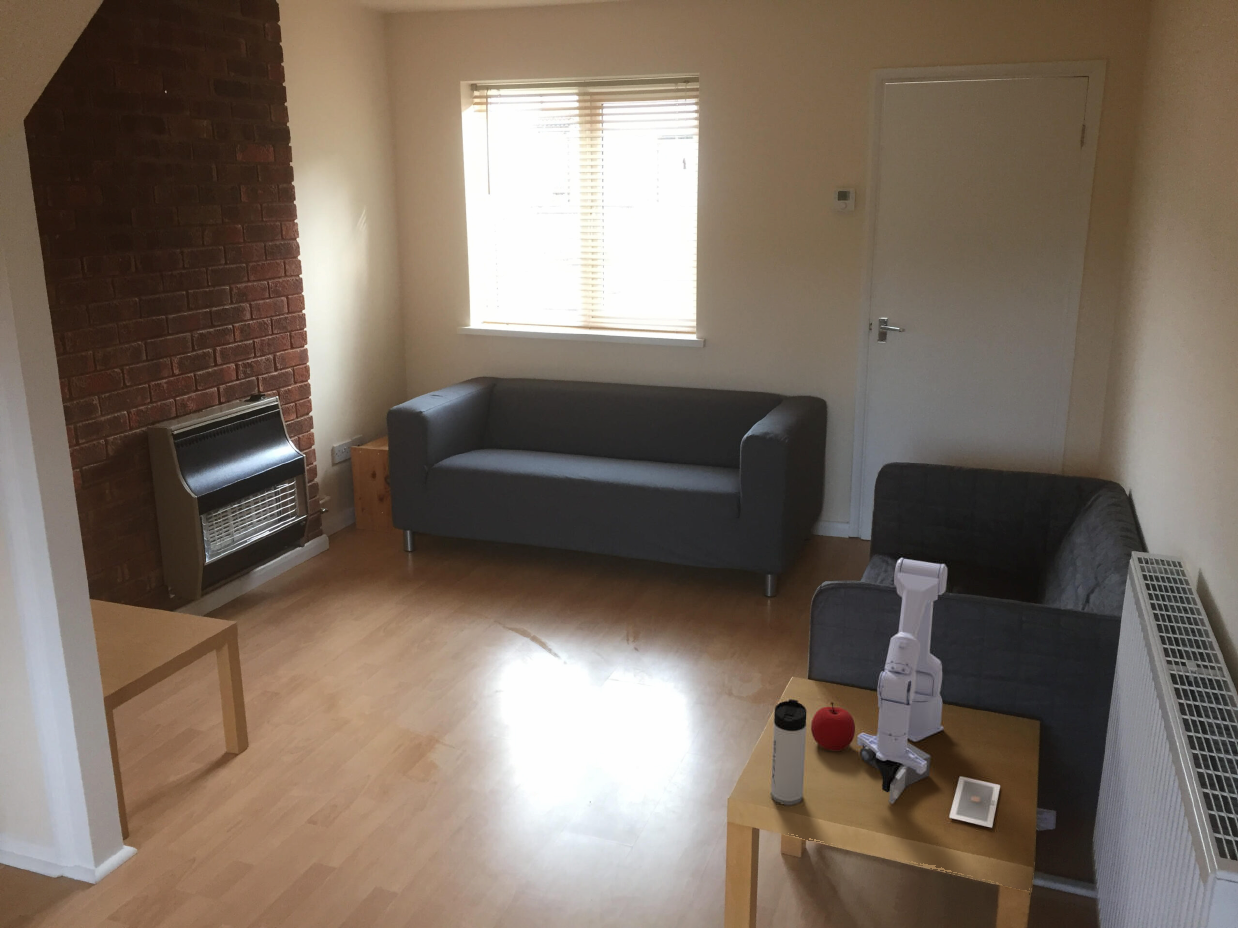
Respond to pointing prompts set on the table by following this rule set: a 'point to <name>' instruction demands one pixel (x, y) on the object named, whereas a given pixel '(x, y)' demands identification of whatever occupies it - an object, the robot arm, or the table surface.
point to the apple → (833, 728)
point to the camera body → (912, 775)
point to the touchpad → (975, 801)
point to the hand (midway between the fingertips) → (888, 789)
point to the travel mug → (788, 752)
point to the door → (898, 785)
